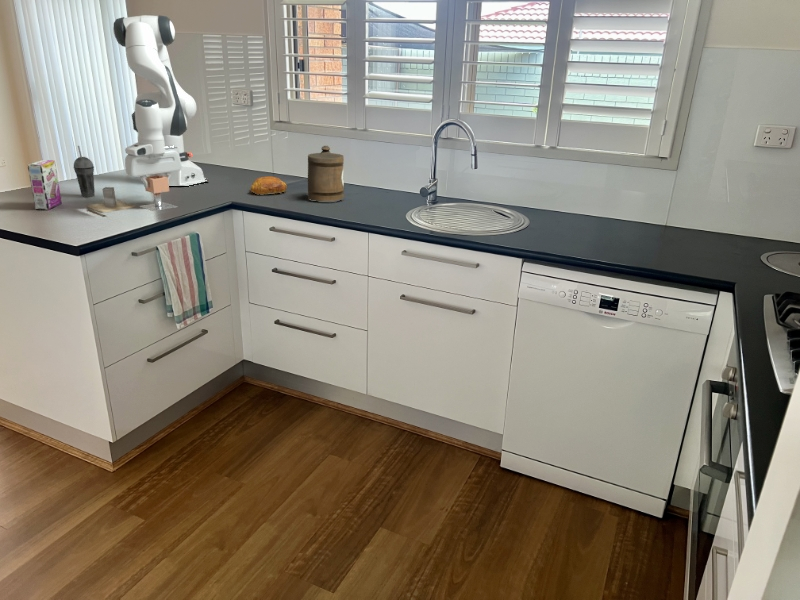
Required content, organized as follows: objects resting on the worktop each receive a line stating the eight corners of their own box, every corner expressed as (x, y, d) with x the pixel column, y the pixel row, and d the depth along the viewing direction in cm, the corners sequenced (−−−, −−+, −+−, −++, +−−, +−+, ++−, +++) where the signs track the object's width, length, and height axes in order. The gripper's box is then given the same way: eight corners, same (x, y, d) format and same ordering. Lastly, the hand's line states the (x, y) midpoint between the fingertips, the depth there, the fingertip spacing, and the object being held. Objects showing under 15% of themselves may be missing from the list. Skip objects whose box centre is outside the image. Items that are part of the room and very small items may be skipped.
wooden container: (350, 200, 250) (351, 146, 242) (323, 204, 240) (323, 149, 232) (327, 194, 260) (327, 142, 251) (300, 198, 249) (299, 144, 241)
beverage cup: (102, 194, 242) (94, 144, 234) (91, 198, 235) (83, 147, 228) (85, 193, 242) (77, 143, 235) (74, 197, 236) (65, 146, 228)
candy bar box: (49, 210, 216) (41, 164, 210) (35, 210, 216) (26, 164, 210) (63, 203, 226) (55, 159, 220) (49, 203, 226) (41, 159, 220)
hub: (119, 205, 226) (116, 183, 223) (135, 211, 219) (132, 188, 216) (87, 210, 217) (83, 187, 214) (103, 216, 211) (99, 193, 207)
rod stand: (164, 205, 228) (162, 187, 226) (178, 210, 223) (176, 192, 220) (139, 210, 221) (136, 191, 219) (153, 215, 215) (151, 195, 213)
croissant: (289, 199, 256) (291, 181, 253) (253, 197, 249) (254, 178, 246) (280, 192, 268) (282, 174, 265) (245, 189, 261) (247, 171, 258)
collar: (160, 188, 223) (158, 175, 222) (169, 191, 220) (167, 177, 218) (145, 190, 219) (143, 177, 217) (154, 193, 216) (152, 179, 214)
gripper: (173, 144, 223) (177, 180, 228) (120, 149, 208) (126, 188, 213) (182, 146, 219) (186, 183, 225) (129, 151, 204) (135, 191, 210)
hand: (156, 185), depth 219 cm, fingers closed on collar, 6 cm apart
